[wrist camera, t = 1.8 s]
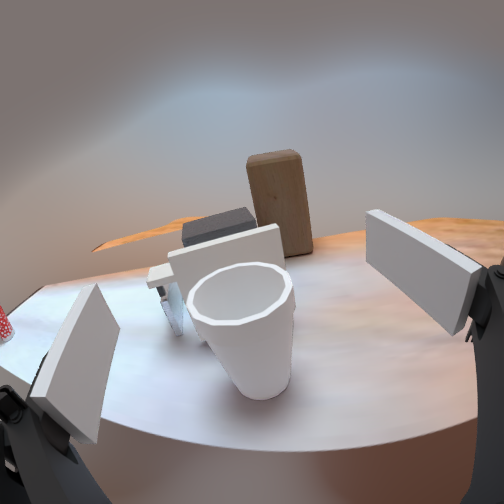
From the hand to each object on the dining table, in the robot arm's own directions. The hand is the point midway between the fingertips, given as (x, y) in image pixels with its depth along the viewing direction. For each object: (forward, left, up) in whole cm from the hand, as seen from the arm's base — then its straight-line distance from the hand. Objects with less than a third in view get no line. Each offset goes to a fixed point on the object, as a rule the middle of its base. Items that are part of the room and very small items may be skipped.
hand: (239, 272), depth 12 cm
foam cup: (+8, -5, -20) cm, 22 cm away
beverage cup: (+58, +35, -20) cm, 71 cm away
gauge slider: (+19, -8, -19) cm, 27 cm away
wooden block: (+28, -32, -20) cm, 47 cm away
